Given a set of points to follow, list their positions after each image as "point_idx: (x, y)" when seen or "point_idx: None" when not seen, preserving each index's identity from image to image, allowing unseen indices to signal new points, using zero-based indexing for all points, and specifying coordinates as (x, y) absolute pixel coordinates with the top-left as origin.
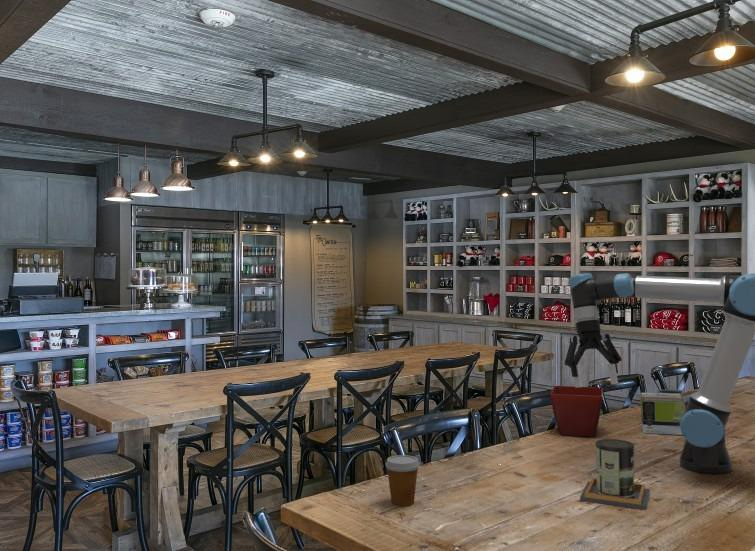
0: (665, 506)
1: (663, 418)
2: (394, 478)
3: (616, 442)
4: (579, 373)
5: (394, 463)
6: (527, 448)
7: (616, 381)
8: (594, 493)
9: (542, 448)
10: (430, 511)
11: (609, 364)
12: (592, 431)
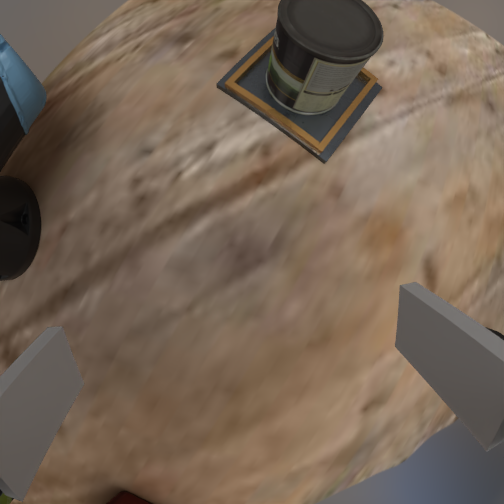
0: (238, 27)
1: None
2: None
3: (320, 26)
4: (478, 333)
5: None
6: (317, 460)
7: (48, 336)
8: (361, 70)
9: (282, 457)
10: None
11: (7, 484)
12: (123, 497)
